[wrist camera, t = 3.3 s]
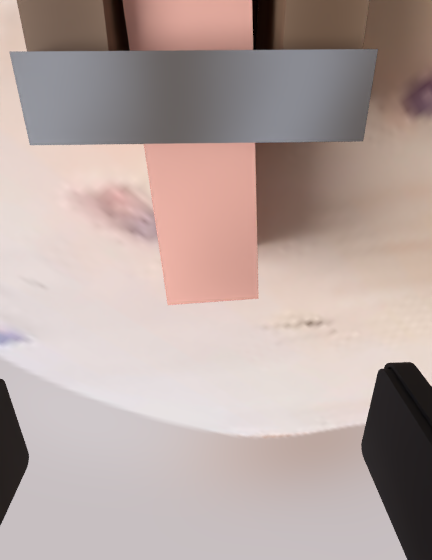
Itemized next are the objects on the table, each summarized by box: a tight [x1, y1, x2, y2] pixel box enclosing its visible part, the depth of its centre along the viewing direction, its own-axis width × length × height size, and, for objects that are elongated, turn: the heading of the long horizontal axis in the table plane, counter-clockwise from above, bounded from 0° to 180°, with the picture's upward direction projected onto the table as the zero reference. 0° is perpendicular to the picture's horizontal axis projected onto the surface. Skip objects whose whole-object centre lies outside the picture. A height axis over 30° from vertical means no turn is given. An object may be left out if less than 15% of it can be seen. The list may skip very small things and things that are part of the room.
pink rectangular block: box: [122, 0, 258, 305], centre depth 16 cm, size 4×14×6 cm, turn 4°
